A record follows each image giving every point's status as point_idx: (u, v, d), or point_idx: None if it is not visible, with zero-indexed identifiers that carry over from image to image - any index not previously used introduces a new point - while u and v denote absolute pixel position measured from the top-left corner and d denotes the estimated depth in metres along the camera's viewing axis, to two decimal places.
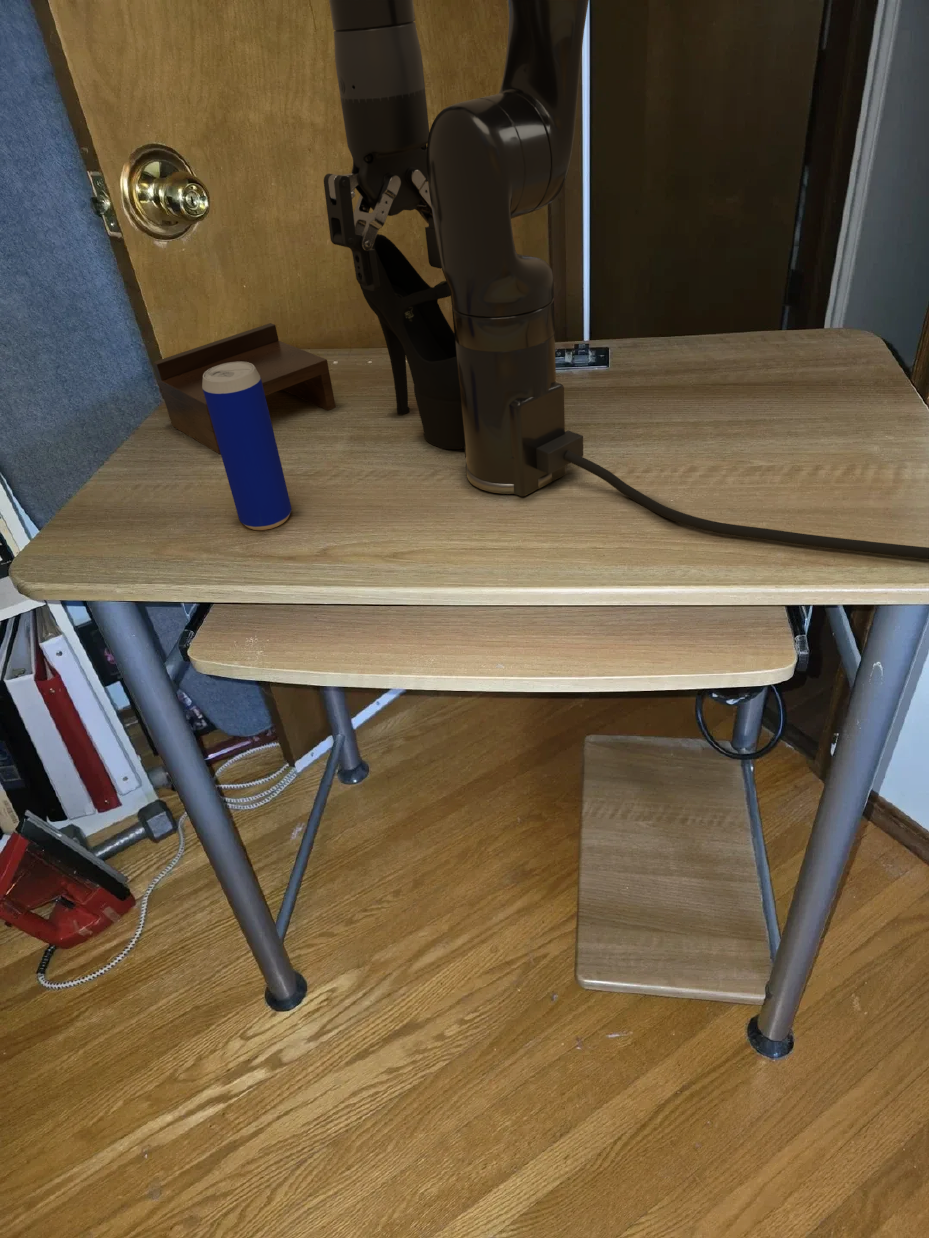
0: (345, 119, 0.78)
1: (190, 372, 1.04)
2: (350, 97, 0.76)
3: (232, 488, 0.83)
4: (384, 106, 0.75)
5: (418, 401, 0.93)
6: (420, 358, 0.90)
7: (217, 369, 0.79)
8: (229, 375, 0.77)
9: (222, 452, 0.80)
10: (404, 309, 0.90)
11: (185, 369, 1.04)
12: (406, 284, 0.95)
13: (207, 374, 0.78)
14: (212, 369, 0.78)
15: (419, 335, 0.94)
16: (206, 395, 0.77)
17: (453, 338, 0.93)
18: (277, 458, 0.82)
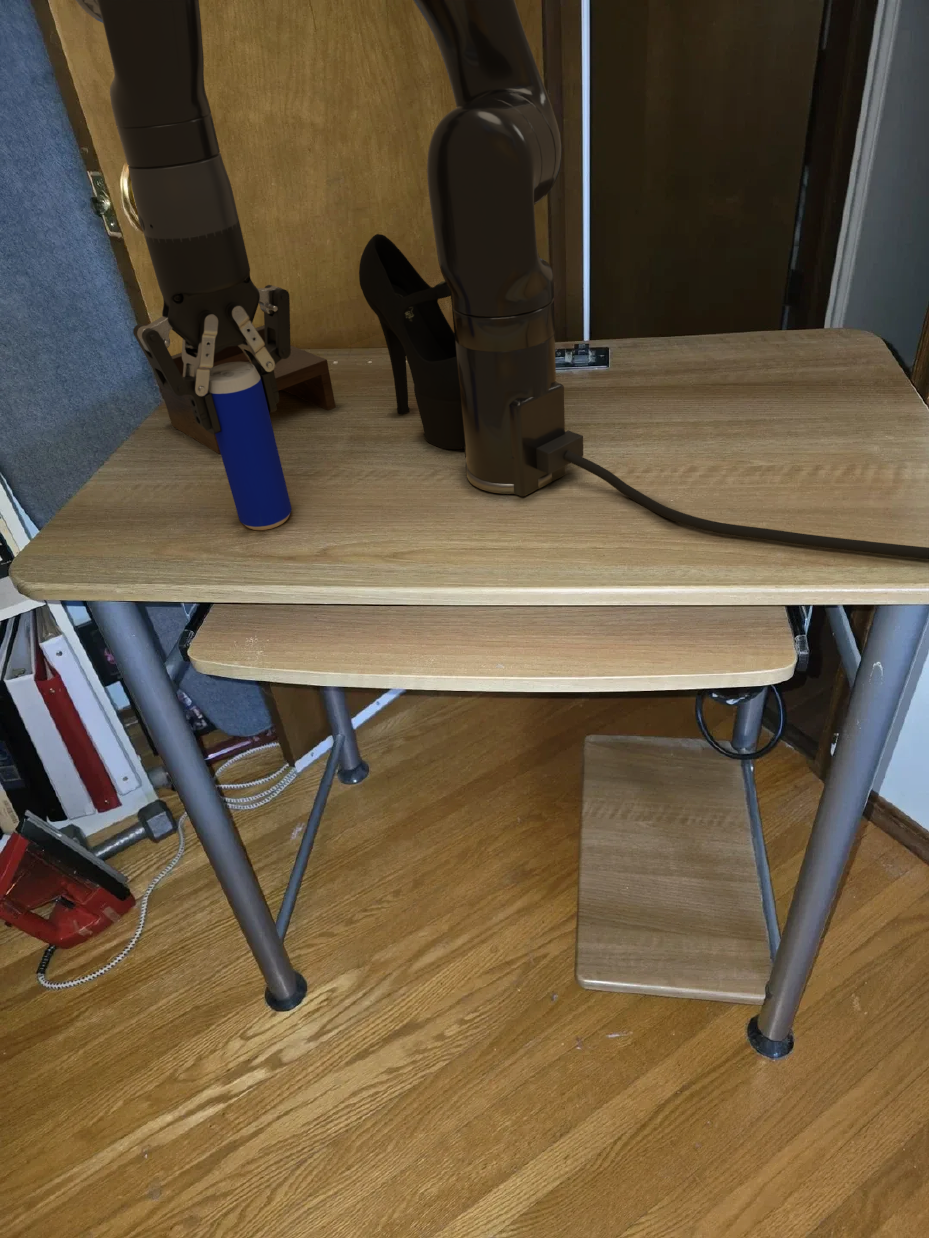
0: (150, 256, 0.70)
1: None
2: (150, 236, 0.68)
3: (232, 488, 0.83)
4: (186, 247, 0.68)
5: (418, 401, 0.93)
6: (420, 358, 0.90)
7: (216, 369, 0.79)
8: (229, 375, 0.77)
9: (222, 452, 0.80)
10: (404, 309, 0.90)
11: None
12: (406, 284, 0.95)
13: None
14: (212, 369, 0.78)
15: (419, 335, 0.94)
16: None
17: (453, 338, 0.93)
18: (277, 458, 0.82)
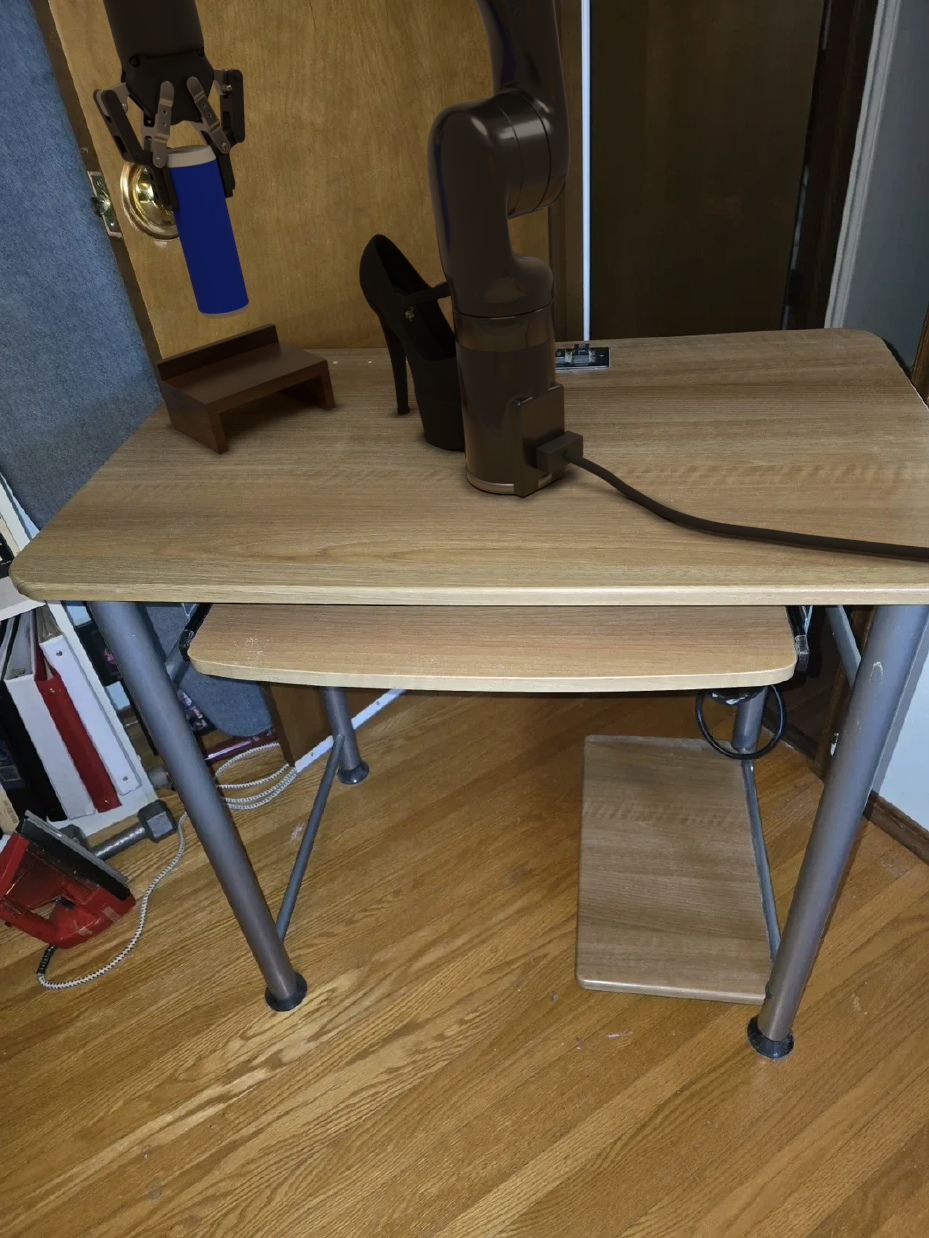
0: (108, 19, 0.75)
1: (190, 372, 1.04)
2: None
3: (191, 274, 0.87)
4: (141, 3, 0.72)
5: (418, 401, 0.93)
6: (420, 358, 0.90)
7: (174, 150, 0.83)
8: (186, 153, 0.82)
9: (180, 234, 0.85)
10: (404, 309, 0.90)
11: (185, 369, 1.04)
12: (406, 284, 0.95)
13: None
14: (170, 150, 0.83)
15: (419, 335, 0.94)
16: None
17: (453, 338, 0.93)
18: (233, 244, 0.87)
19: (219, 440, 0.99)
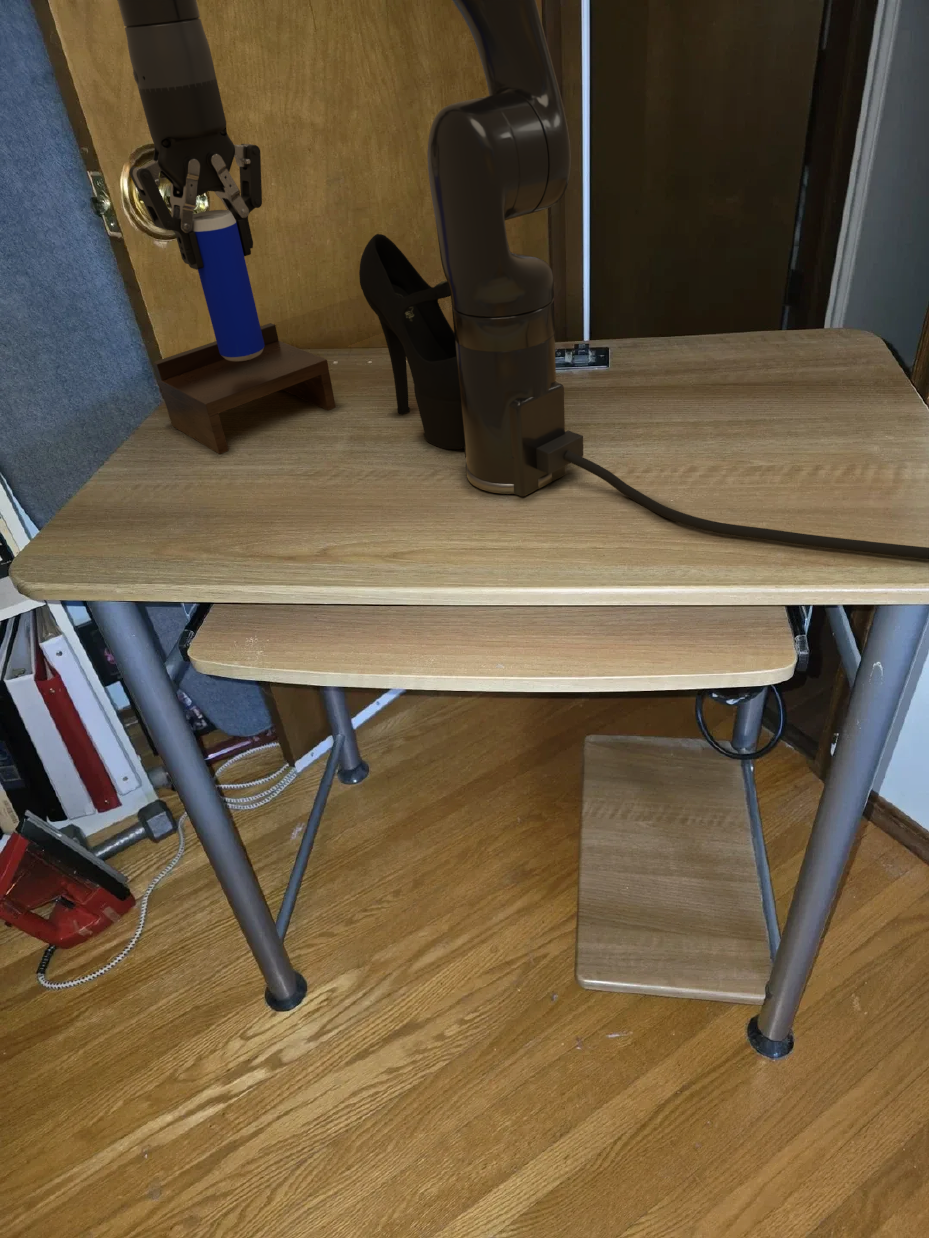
0: (143, 107, 0.85)
1: (190, 372, 1.04)
2: (143, 87, 0.83)
3: (213, 322, 0.98)
4: (172, 95, 0.83)
5: (418, 401, 0.93)
6: (420, 358, 0.90)
7: (199, 215, 0.94)
8: (209, 218, 0.93)
9: (204, 288, 0.96)
10: (404, 309, 0.90)
11: (185, 369, 1.04)
12: (406, 284, 0.95)
13: None
14: (195, 215, 0.94)
15: (419, 335, 0.94)
16: None
17: (453, 338, 0.93)
18: (251, 296, 0.97)
19: (219, 440, 0.99)
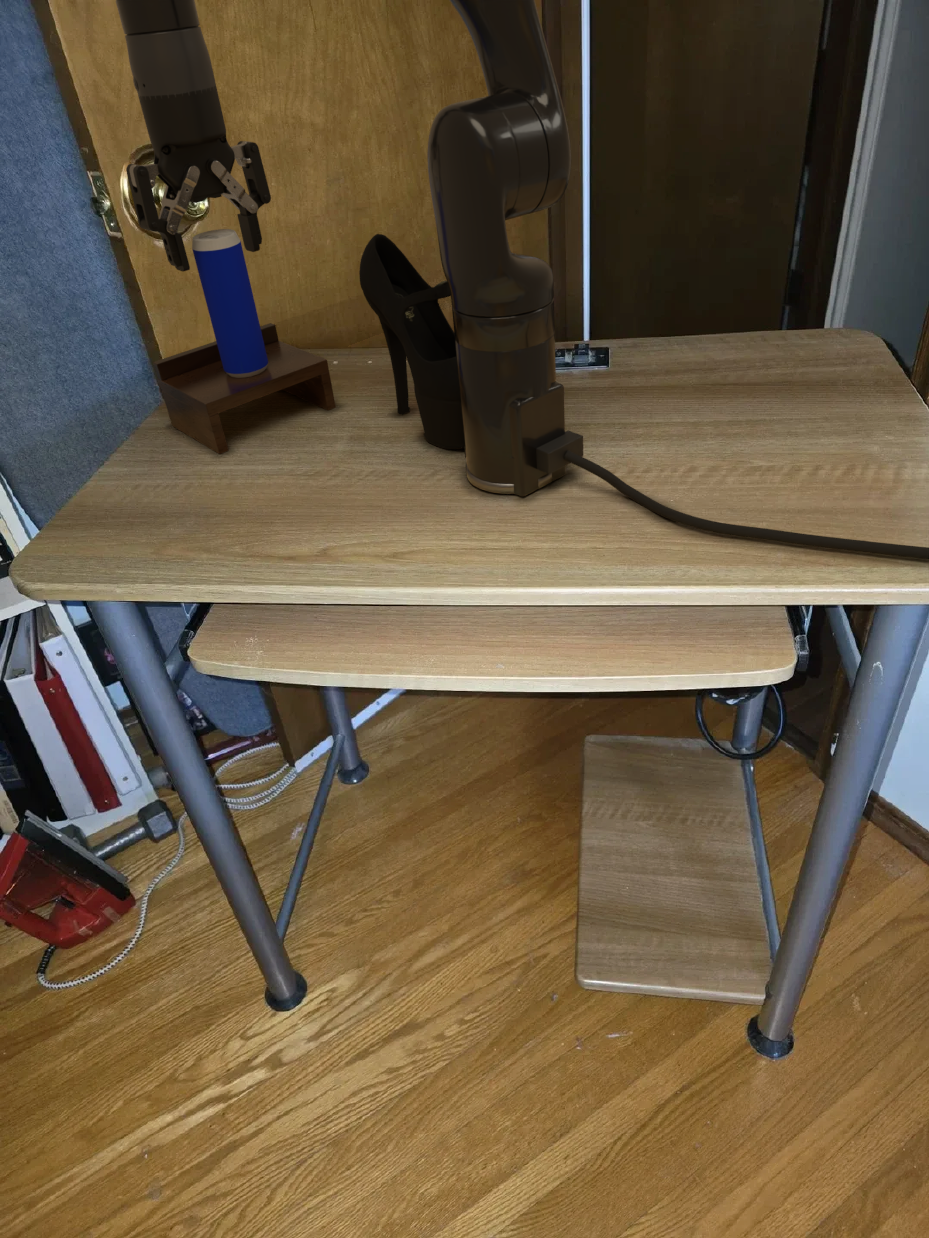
0: (143, 114, 0.86)
1: (190, 372, 1.04)
2: (143, 94, 0.84)
3: (217, 339, 0.99)
4: (172, 102, 0.83)
5: (418, 401, 0.93)
6: (420, 358, 0.90)
7: (204, 234, 0.95)
8: (214, 238, 0.94)
9: (209, 306, 0.97)
10: (404, 309, 0.90)
11: (185, 369, 1.04)
12: (407, 284, 0.95)
13: (196, 237, 0.94)
14: (200, 234, 0.95)
15: (419, 335, 0.94)
16: (195, 254, 0.93)
17: (453, 338, 0.93)
18: (255, 314, 0.98)
19: (219, 440, 0.99)
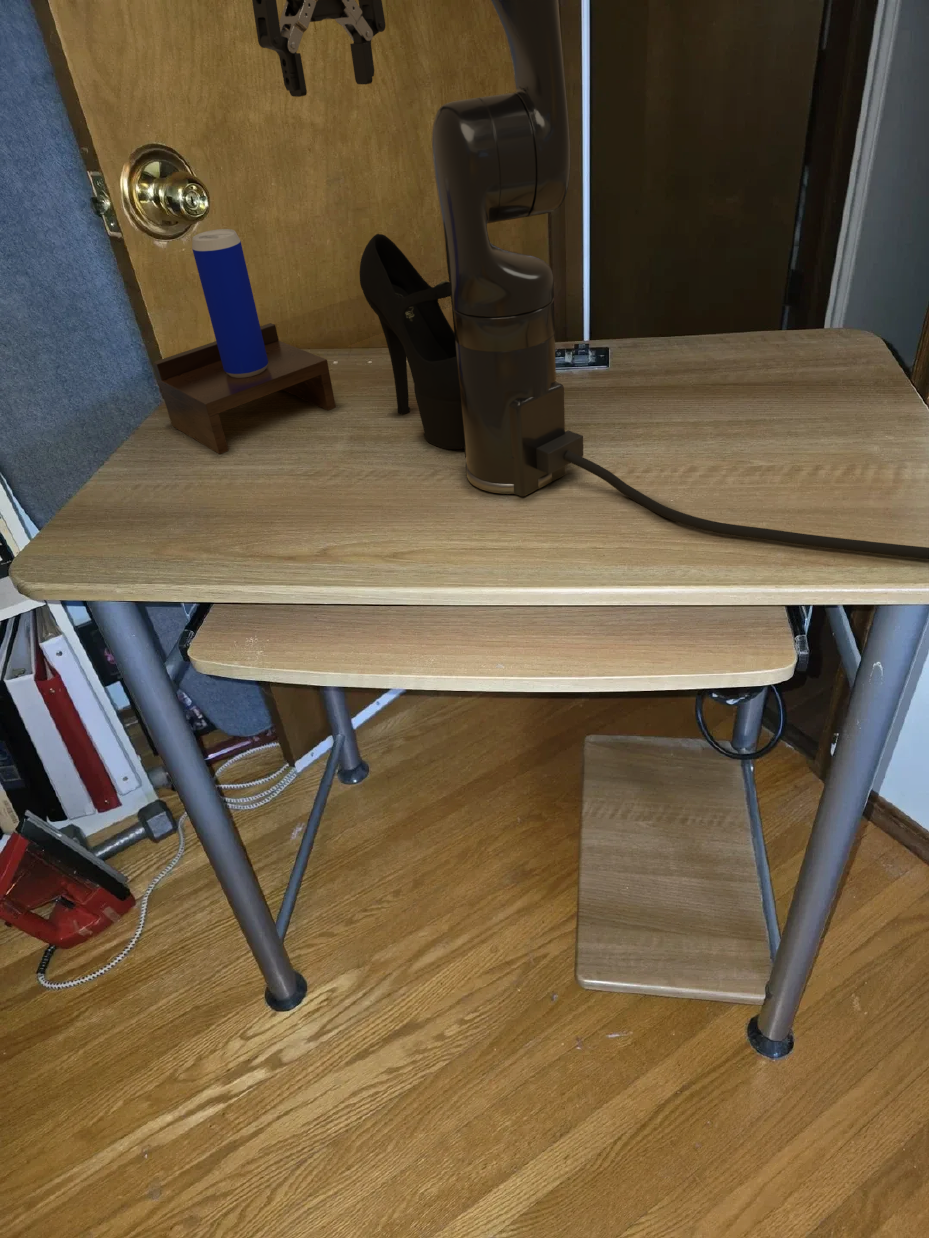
0: None
1: (190, 372, 1.04)
2: None
3: (217, 339, 0.99)
4: None
5: (418, 401, 0.93)
6: (420, 358, 0.90)
7: (204, 234, 0.95)
8: (214, 238, 0.94)
9: (209, 306, 0.97)
10: (404, 309, 0.90)
11: (185, 369, 1.04)
12: (407, 284, 0.95)
13: (196, 237, 0.94)
14: (200, 234, 0.95)
15: (419, 335, 0.94)
16: (195, 254, 0.93)
17: (453, 338, 0.93)
18: (255, 314, 0.98)
19: (219, 440, 0.99)
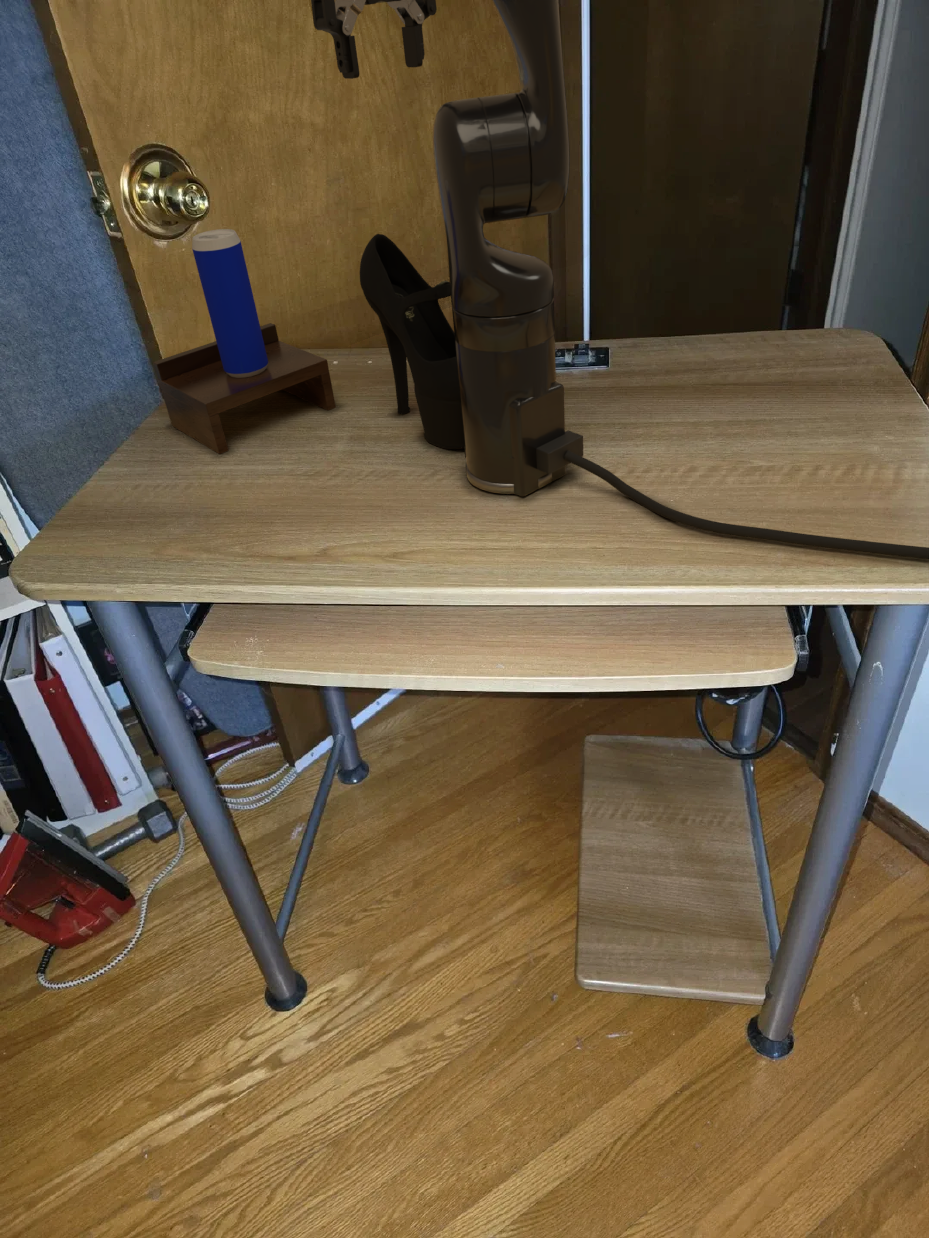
0: None
1: (190, 372, 1.04)
2: None
3: (217, 339, 0.99)
4: None
5: (418, 401, 0.93)
6: (420, 358, 0.90)
7: (204, 234, 0.95)
8: (214, 238, 0.94)
9: (209, 306, 0.97)
10: (404, 309, 0.90)
11: (185, 369, 1.04)
12: (407, 284, 0.95)
13: (196, 237, 0.94)
14: (200, 234, 0.95)
15: (420, 335, 0.94)
16: (195, 254, 0.93)
17: (453, 338, 0.93)
18: (255, 314, 0.98)
19: (219, 440, 0.99)
